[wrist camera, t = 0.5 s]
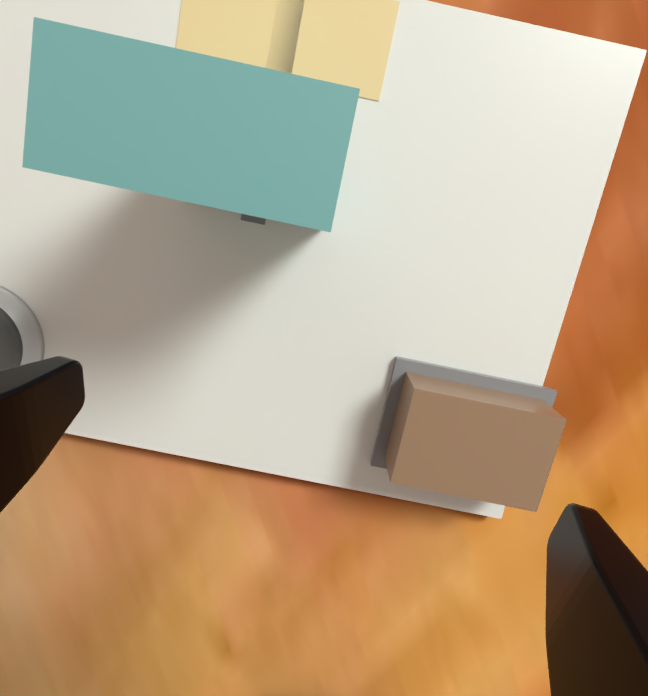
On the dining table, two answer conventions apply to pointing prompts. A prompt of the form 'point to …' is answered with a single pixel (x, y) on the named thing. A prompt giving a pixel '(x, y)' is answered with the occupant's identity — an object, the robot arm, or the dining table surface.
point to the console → (332, 253)
